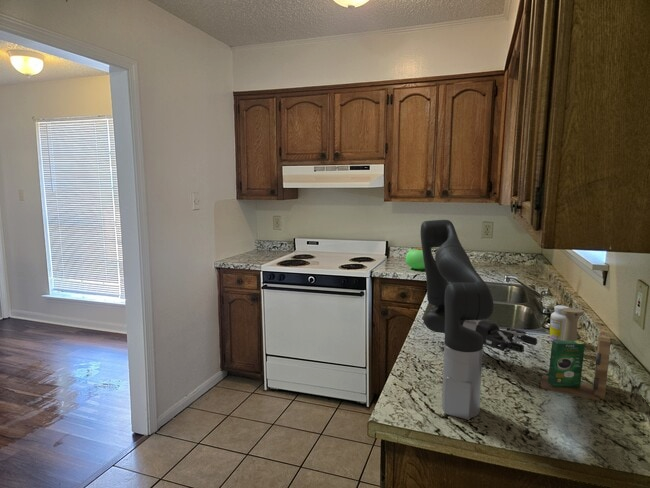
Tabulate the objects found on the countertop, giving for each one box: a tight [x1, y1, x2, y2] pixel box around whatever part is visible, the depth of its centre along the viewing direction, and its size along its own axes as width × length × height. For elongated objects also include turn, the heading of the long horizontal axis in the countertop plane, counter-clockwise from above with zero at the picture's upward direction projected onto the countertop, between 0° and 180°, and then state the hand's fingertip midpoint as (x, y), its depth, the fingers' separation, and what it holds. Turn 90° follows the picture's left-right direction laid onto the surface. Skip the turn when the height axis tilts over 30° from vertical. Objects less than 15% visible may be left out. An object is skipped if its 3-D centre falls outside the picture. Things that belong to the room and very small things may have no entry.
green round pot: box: [405, 247, 433, 270], centre depth 273 cm, size 18×17×15 cm
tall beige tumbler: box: [561, 307, 585, 341], centre depth 139 cm, size 5×6×15 cm
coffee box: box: [547, 340, 586, 387], centre depth 116 cm, size 8×3×13 cm, turn 89°
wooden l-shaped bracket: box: [540, 328, 611, 402], centre depth 117 cm, size 12×15×16 cm
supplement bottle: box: [549, 304, 570, 342], centre depth 150 cm, size 7×7×13 cm
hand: (530, 345), depth 123 cm, fingers open, 8 cm apart
